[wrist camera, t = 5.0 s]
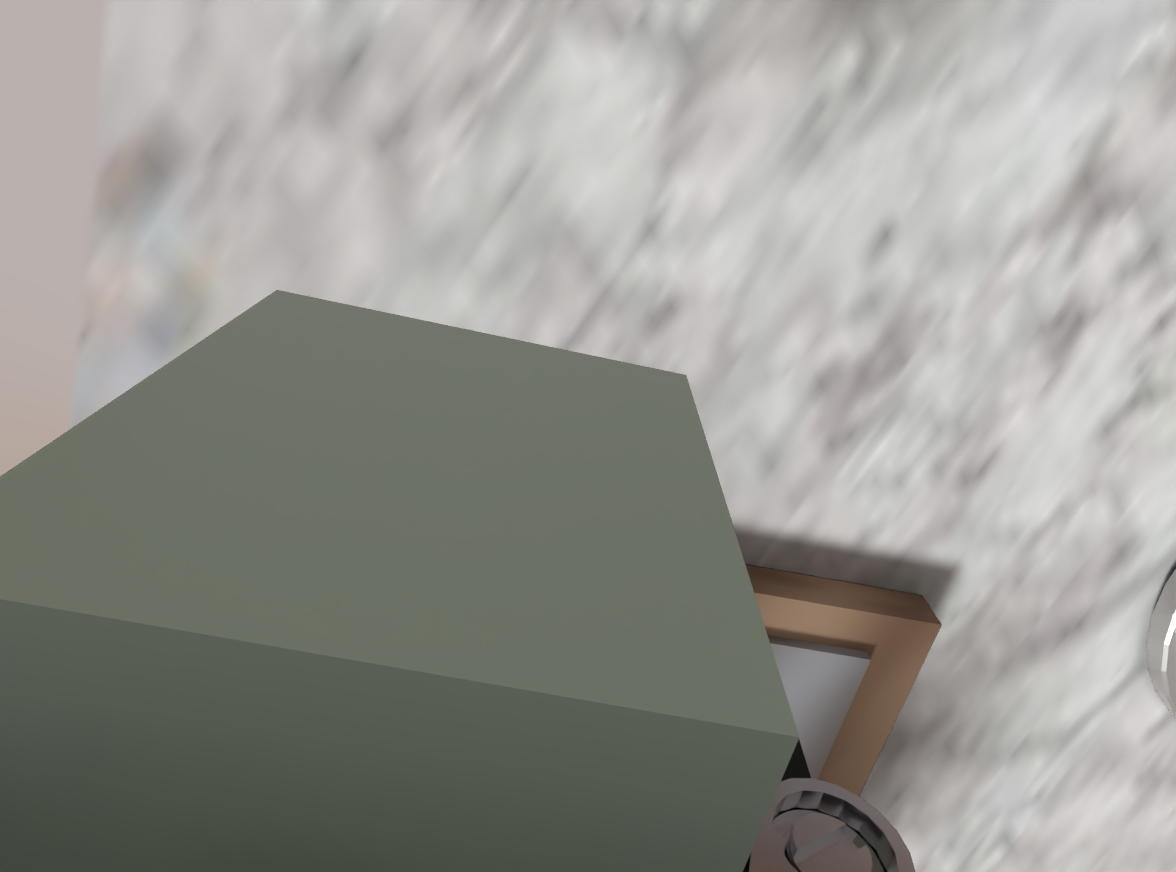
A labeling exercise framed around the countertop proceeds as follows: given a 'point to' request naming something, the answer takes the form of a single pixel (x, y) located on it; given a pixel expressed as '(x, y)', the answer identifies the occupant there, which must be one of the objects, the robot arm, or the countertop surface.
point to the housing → (382, 616)
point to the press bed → (843, 664)
